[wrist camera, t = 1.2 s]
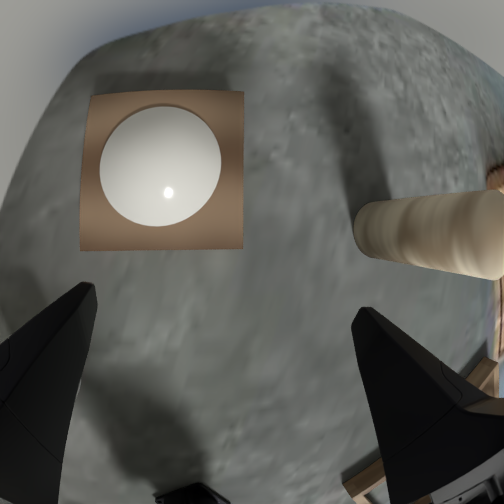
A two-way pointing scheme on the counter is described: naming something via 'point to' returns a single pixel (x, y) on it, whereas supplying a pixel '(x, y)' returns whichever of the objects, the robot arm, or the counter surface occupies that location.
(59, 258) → the counter surface
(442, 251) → the birch pillar
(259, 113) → the counter surface
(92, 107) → the walnut plinth
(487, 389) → the oak tray rim
